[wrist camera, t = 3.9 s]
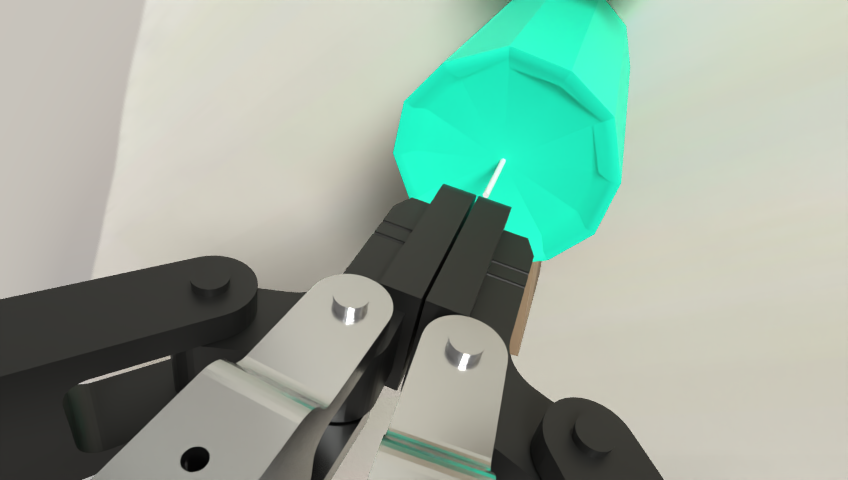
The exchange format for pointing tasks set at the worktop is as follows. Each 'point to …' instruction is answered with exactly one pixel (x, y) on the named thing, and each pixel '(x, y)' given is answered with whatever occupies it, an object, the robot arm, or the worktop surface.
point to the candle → (527, 120)
